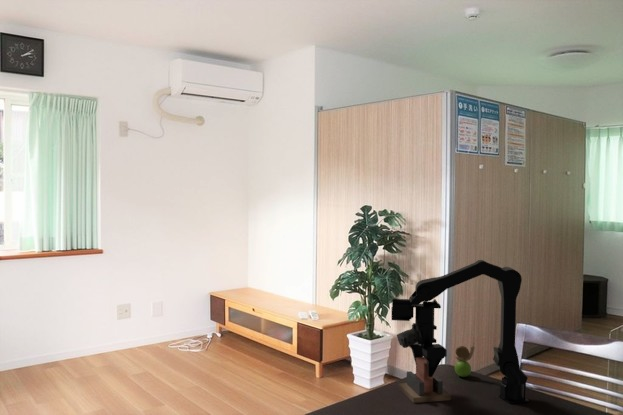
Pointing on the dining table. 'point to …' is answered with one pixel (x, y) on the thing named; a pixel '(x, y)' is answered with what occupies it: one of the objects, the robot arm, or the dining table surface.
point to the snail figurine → (463, 360)
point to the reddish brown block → (424, 374)
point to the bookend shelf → (416, 389)
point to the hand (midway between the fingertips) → (424, 371)
